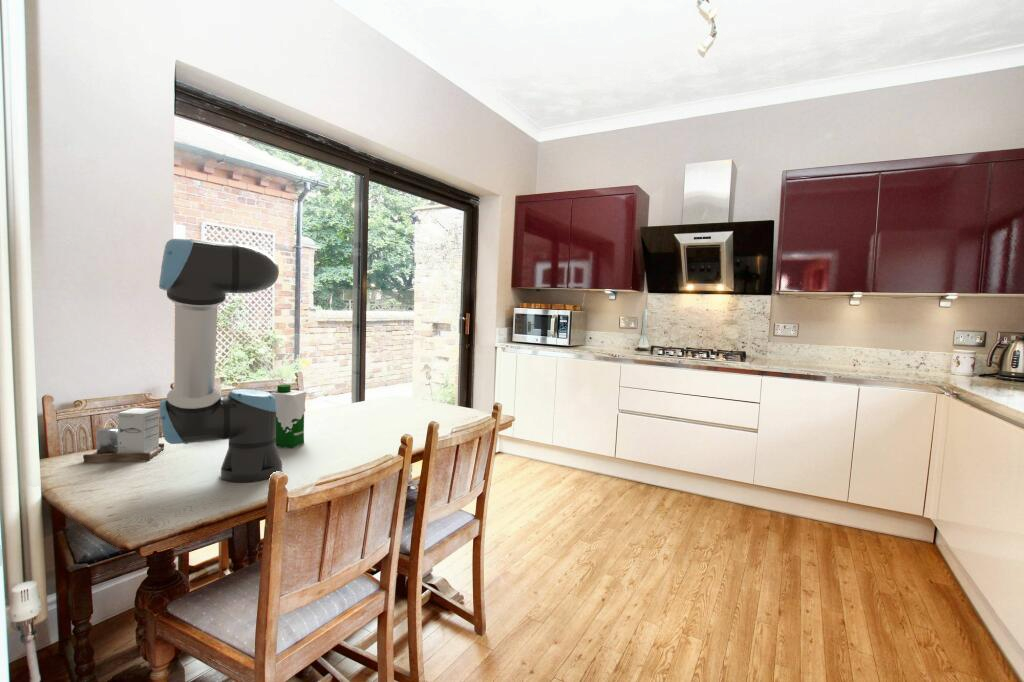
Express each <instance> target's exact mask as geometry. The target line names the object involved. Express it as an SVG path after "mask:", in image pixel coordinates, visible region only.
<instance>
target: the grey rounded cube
mask: <svg viewBox="0 0 1024 682" xmlns="http://www.w3.org/2000/svg"><path fill="white" fill-rule="evenodd" d="M96 452H97V454H115V453H118V427H113V426H112V427H103V428H98V429H96Z"/></svg>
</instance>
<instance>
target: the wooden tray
mask: <svg viewBox="0 0 1024 682" xmlns="http://www.w3.org/2000/svg"><path fill="white" fill-rule="evenodd" d="M163 450H165V443H164V442H163V443H162V442H161V443H159V449H157V450H155V451H152V452H150V453H120V454H118V453H115V454H97V451H95V452H93V453H90V454H88V453H87V454H86V453H85V454H83V455H82V459H83V463H112V462H114V463H117V461H118V462H138V461H137V460H149V461H151V460H153V459H154V458H155V457H157V456H158V455H159V454H158V453H160V452H161V451H162V452H164V451H163ZM162 452H161V453H162ZM161 453H160V454H161ZM157 454H158V455H157ZM156 455H157V456H156ZM154 456H155V457H154ZM153 457H154V458H153ZM150 459H151V460H150Z"/></svg>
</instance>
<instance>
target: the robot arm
mask: <svg viewBox="0 0 1024 682" xmlns="http://www.w3.org/2000/svg"><path fill="white" fill-rule="evenodd" d="M164 245H165V246H164V251H163V255H162V261H161V267H160V275H159V284H158V288H159V289H160V290H163V291H166V297H167V298H168V300H169V301H171V302H172V303H173V304H174V355H173V356H174V357H173V358H174V361H173V362H174V367H173V368H174V377H173V378H174V379H173V381H174V383H173V386H174V387H173V388H172V389H170V390H169V391H168V393H167V394H166V398H165V399H164V398H163V399H161V400H160V402H159V417H160V423H161V429H162V435H163V438H164V440H165V441H166V442H167V443H168V444H170V445H177V444H178V445H180V444H185V445H188V444H192V443H193V444H194V443H203V442H211V441H221V440H228V447H227V448H228V449H227V451H226V454H225V457H224V459H223V462H222V464H221V468H220V478H221V480H225V481H227V482H232V483H250V482H259V481H262V480H267V479H270V478H269V477H270V475H271V474H272V473H273V472H276V471H281V472H282V471H283V461H282V458H281V456H280V454H279V451H278V447H276V412H277V408H276V398H275V396H274V395H273V394H272V393H271V392H268V391H263V390H257V389H248V388H247V389H245V388H241V389H240V388H239V389H231V390H230V391H229V392H228V395H225V396H223V395H222V394H221V393H222V392H221V391H220V389H218V388H217V387H215V380H216V379H215V377H216V357H217V356H216V353H217V336H218V335H217V333H218V332H217V330H218V312H219V311H218V307H219V306H220V305H221V304H223V303H224V302H225V301H226V294H251V293H256V292H260V291H264V290H267V289H268V288H270V287H272V286H273V285H274V284H275V283H276V281H277V280H278V278H279V273H280V270H279V265H278V264H277V261H276V260H275V259H274V258H273V256H271V254H269V253H267V252H265V251H263V250H262V249H259V248H256V247H253V246H249V245H245V244H244V245H243V244H235V243H224V242H215V241H209V240H208V241H206V240H199V239H196V240H195V239H194V238H190V239H187V238H185V239H184V238H171V239H169V240H168V241H166V243H165V244H164Z"/></svg>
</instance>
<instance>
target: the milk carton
mask: <svg viewBox="0 0 1024 682" xmlns="http://www.w3.org/2000/svg"><path fill="white" fill-rule="evenodd" d="M276 387H277V389H276V390H277V391H275V392H272V393H271V394H273V395H274V396H275V398H276V408H277V412H276V446H280V447H279V448H285V447H287V449H293V448H295V447H298V446H300V445H302V444H304V443H305V403H306V398H307V397H306V396H307V391H301V390H294V389H291V387H292V386H291V385H290V384H280V385H277V386H276Z"/></svg>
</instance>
